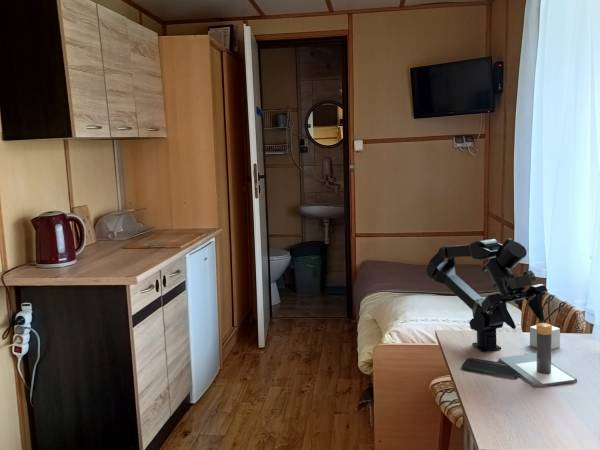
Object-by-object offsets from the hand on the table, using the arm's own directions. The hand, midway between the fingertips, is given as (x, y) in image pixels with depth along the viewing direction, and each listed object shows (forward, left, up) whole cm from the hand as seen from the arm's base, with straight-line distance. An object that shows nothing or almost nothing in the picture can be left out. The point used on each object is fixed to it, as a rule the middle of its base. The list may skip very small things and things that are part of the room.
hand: (529, 324), depth 146 cm
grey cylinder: (+5, +1, -12) cm, 13 cm away
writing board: (+2, +1, -13) cm, 13 cm away
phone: (-2, -10, -13) cm, 17 cm away
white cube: (-13, +13, -13) cm, 23 cm away
